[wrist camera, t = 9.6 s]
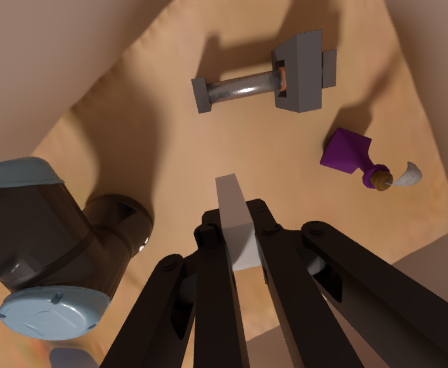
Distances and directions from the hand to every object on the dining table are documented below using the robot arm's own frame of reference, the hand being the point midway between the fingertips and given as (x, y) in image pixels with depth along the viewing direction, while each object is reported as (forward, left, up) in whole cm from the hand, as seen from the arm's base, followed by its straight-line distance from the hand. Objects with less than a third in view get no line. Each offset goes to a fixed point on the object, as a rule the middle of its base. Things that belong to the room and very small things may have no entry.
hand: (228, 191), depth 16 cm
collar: (+13, +7, -27) cm, 31 cm away
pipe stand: (+8, +7, -27) cm, 30 cm away
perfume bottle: (+23, -8, -28) cm, 37 cm away
